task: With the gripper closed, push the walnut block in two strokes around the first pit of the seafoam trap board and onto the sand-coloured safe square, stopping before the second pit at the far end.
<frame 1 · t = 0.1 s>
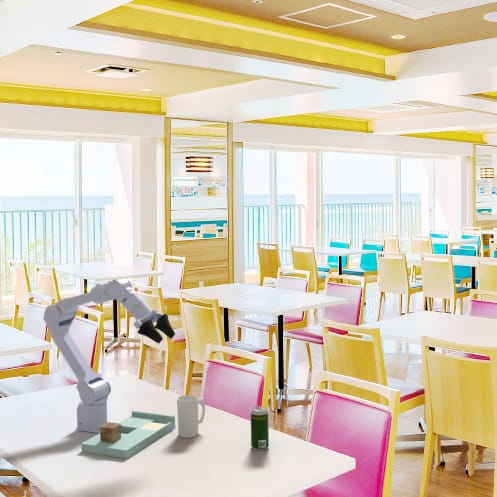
hand: (167, 338, 221), 32 cm above the table, tool tilted 50°, fingers open, 7 cm apart
walnut block: (110, 439, 217), point 2 cm above the table, touching trap board
trap board: (130, 439, 225), on the table
beer can: (259, 448, 215), on the table
mug: (192, 434, 229), on the table
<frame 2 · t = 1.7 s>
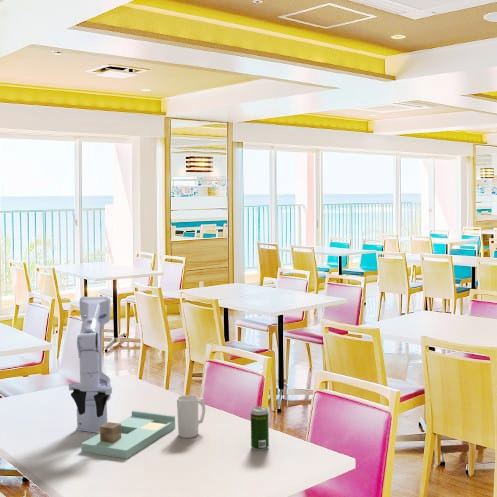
hand: (91, 414, 219), 9 cm above the table, tool pointing down, fingers open, 6 cm apart
nothing on the table moved.
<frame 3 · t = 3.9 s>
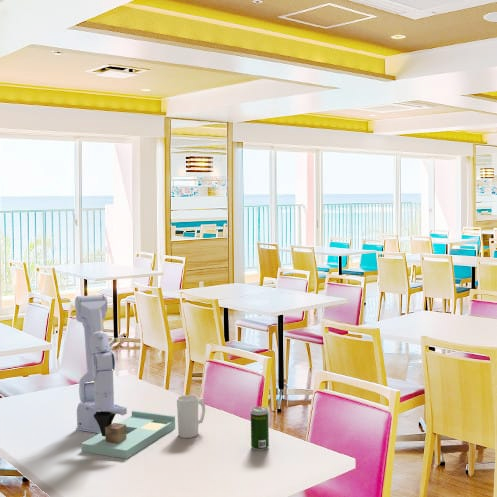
hand: (105, 435, 218), 4 cm above the table, tool pointing down, fingers closed
walnut block: (116, 440, 216), point 3 cm above the table, touching gripper
everything else where it was.
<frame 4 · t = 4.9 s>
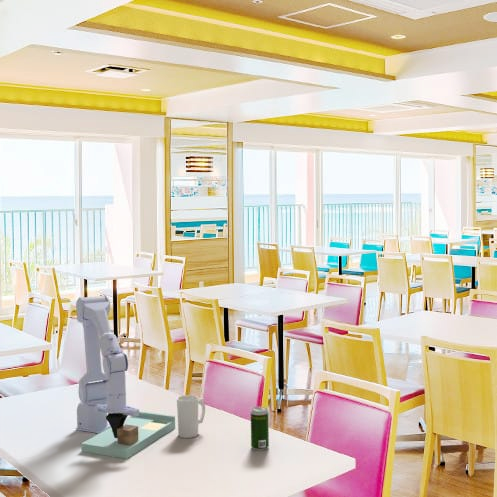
hand: (117, 437, 216), 4 cm above the table, tool pointing down, fingers closed
walnut block: (128, 442, 215), point 2 cm above the table, touching gripper, trap board
everything else where it was.
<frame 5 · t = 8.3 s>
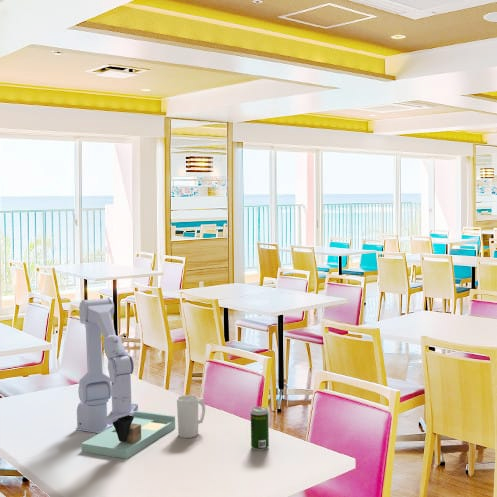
hand: (122, 440, 213), 4 cm above the table, tool pointing down, fingers closed
walnut block: (130, 440, 216), point 3 cm above the table, touching gripper
everything else where it was.
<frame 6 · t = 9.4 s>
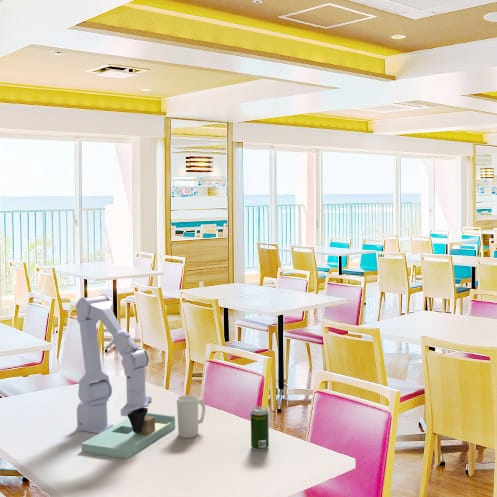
hand: (137, 432, 220), 4 cm above the table, tool pointing down, fingers closed
walnut block: (145, 432, 224), point 3 cm above the table, touching gripper, trap board
everything else where it was.
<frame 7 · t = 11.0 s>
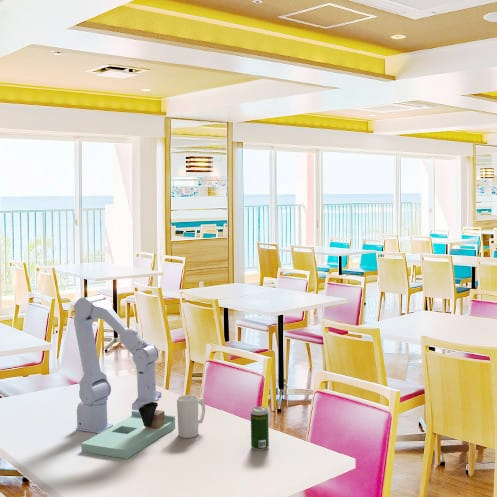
hand: (147, 426, 226), 4 cm above the table, tool pointing down, fingers closed
walnut block: (155, 426, 229), point 3 cm above the table, touching gripper, trap board
everything else where it was.
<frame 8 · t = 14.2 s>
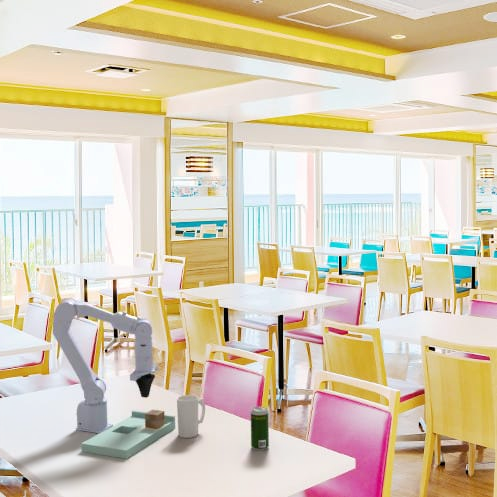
hand: (145, 396, 236), 10 cm above the table, tool pointing down, fingers closed
walnut block: (155, 426, 229), point 2 cm above the table, touching trap board
everything else where it was.
at the end: walnut block inside the target area (1.3 cm from its centre), point 2.5 cm above the table; walnut block tilted 0° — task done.
